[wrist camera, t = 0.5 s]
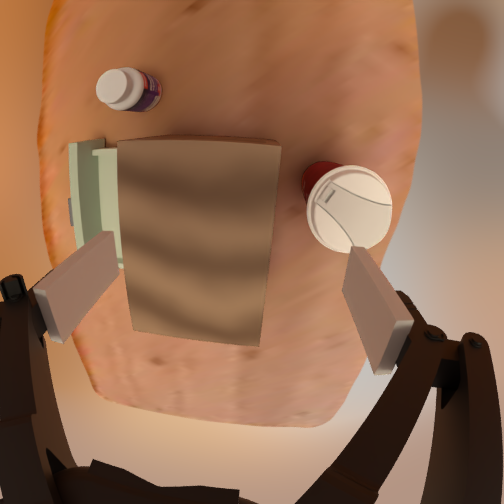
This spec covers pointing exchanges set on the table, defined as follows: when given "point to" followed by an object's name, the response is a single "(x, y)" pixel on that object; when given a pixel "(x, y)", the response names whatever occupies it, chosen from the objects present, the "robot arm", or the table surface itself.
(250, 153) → the housing
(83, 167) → the drawer
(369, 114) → the table surface
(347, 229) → the coffee cup
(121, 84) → the pill bottle
